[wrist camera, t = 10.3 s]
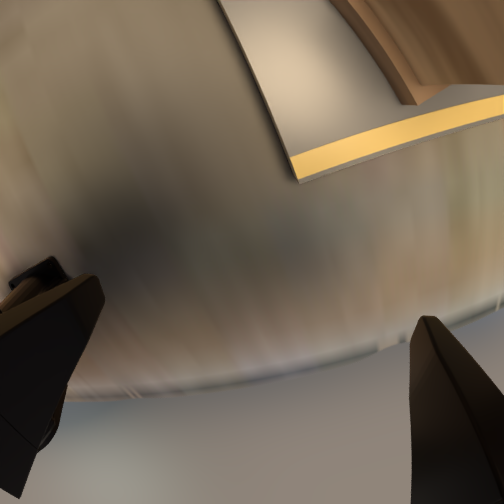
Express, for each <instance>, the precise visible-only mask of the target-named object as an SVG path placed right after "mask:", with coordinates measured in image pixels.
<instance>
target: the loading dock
mask: <svg viewBox="0 0 504 504" xmlns="http://www.w3.org/2000/svg"><path fill="white" fill-rule="evenodd" d="M217 1H218V3H219V5H220V7H221V9H222V11H223V13H224V15H225V17H226V19H227V21H228V23H229V25H230V27H231V29H232V31H233V33H234V36H235V38H236V40H237V42H238V44H239V46H240V48H241V51H242V53H243V55H244V57H245V59H246V61H247V64H248V66H249V68H250V70H251V73H252V75H253V77H254V79H255V82H256V84H257V86H258V89H259V91H260V93H261V95H262V98H263V100H264V102H265V105H266V107H267V110H268V112H269V114H270V117H271V119H272V122H273V124H274V126H275V129H276V131H277V134H278V136H279V139H280V141H281V144H282V146H283V149H284V151H285V154H286V157H287V159H288V162H289V164H290V167H291V169H292V172H293V175H294V176H295V178H296V179H297V181H298V183H299V184H302V183H305V182H308V181H310V180H313V179H316V178H319V177H321V176H324V175H327V174H330V173H333V172H335V171H338V170H341V169H344V168H347V167H350V166H353V165H355V164H358V163H361V162H364V161H367V160H370V159H373V158H376V157H379V156H382V155H385V154H388V153H391V152H394V151H397V150H400V149H403V148H406V147H409V146H412V145H415V144H419V143H422V142H425V141H428V140H431V139H435V138H438V137H441V136H444V135H448V134H451V133H454V132H458V131H461V130H464V129H468V128H471V127H475V126H478V125H482V124H485V123H489V122H492V121H496V120H499V119H503V118H504V85H480V84H452V85H450V86H448V87H447V88H445V89H443V90H442V91H440V92H439V93H437V94H435V95H434V96H432V97H431V98H429V99H428V100H426V101H424V102H423V103H421V104H420V105H418V106H416V105H402V104H401V102H400V101H399V99H398V97H397V96H396V94H395V92H394V91H393V89H392V87H391V86H390V84H389V82H388V81H387V79H386V77H385V76H384V74H383V73H382V71H381V70H380V68H379V67H378V65H377V64H376V62H375V61H374V59H373V58H372V56H371V55H370V53H369V52H368V50H367V49H366V47H365V46H364V45H363V43H362V42H361V40H360V39H359V38H358V36H357V35H356V34H355V32H354V31H353V30H352V28H351V27H350V26H349V24H348V23H347V22H346V20H345V19H344V18H343V17H342V15H341V14H340V13H339V12H338V10H337V9H336V8H335V7H334V6H333V4H332V3H331V2H330V1H329V0H217Z"/></svg>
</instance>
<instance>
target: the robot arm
mask: <svg viewBox="0 0 504 504" xmlns="http://www.w3.org/2000/svg"><path fill="white" fill-rule="evenodd" d="M49 262H50V263H51V264H52V265H50V263H49ZM9 286H10V288H11V290H12V292H11V293H10V294H9V295H8V296H7V297H6V298H5V299H4V300H3V301H2V302H1V303H0V488H1V489H3V490H4V491H6V492H8V493H9V494H11V495H13V496H14V497H16V498H18V499H20V497H21V495H22V492H23V489H24V486H25V484H26V481H27V478H28V475H29V472H30V470H31V467H32V464H33V462H34V459H35V457H36V454H37V453H38V452H39V451H40V450H42V449H43V448H44V447H46V446H47V445H48V444H49V442H50V441H51V440H52V438H53V437H54V435H55V433H56V431H57V429H58V426H59V422H60V417H61V413H62V408H63V403H64V399H65V395H66V390H67V386H68V385H67V383H68V381H69V379H70V377H71V375H72V373H73V371H74V369H75V367H76V365H77V363H78V361H79V359H80V357H81V355H82V353H83V352H84V350H85V348H86V345H87V343H88V341H89V339H90V337H91V334H92V332H93V329H94V327H95V325H96V322H97V320H98V318H99V315H100V313H101V311H102V308H103V306H104V304H105V295H104V293H103V290H102V287H101V284H100V281H99V279H98V277H97V276H96V275H92V274H83V275H81V276H78V277H76V278H74V279H72V280H70V281H68V279H67V278H66V276H65V275H64V273H63V271H62V270H61V268H60V267H59V265H58V263H57V262H56V260H55V259H54V258H53V257H48V258H46V259H44V260H43V261H41V262H39V263H38V264H36V265H34V266H33V267H31V268H29V269H28V270H26V271H24V272H23V273H21V274H19V275H18V276H16V277H14V278H13V279H12V280H11V281H10V282H9ZM409 385H410V387H409V403H410V404H409V405H410V421H411V448H412V449H411V450H412V480H411V504H504V395H503V394H502V393H501V391H500V390H499V389H498V388H497V386H496V385H495V384H494V383H493V381H492V380H491V379H490V378H489V376H488V375H487V374H486V373H485V372H484V370H483V369H482V368H481V367H480V365H479V364H478V363H477V362H476V361H475V360H474V359H473V357H472V356H471V355H470V354H469V353H468V351H467V350H466V349H465V348H464V347H463V346H462V344H461V343H460V342H459V341H458V340H457V339H456V338H455V337H454V335H452V333H451V332H450V331H449V330H448V329H447V328H446V327H445V325H444V324H443V323H442V322H441V321H440V320H439V319H438V318H437V317H435V316H425V315H423V316H421V317H420V318H419V320H418V323H417V325H416V328H415V330H414V333H413V335H412V337H411V341H410V384H409Z"/></svg>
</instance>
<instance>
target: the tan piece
mask: <svg viewBox="0 0 504 504" xmlns="http://www.w3.org/2000/svg"><path fill="white" fill-rule="evenodd" d="M329 1H330V2H331V3H332V4H333V6H334V7H335V8H336V9H337V10H338V12H339V13H340V14H341V15H342V17H343V18H344V19H345V20H346V22H347V23H348V24H349V26H350V27H351V28H352V30H353V31H354V32H355V34H356V35H357V36H358V38H359V39H360V40H361V42H362V43H363V45H364V46H365V47H366V49H367V50H368V52H369V53H370V55H371V56H372V58H373V59H374V61H375V62H376V64H377V65H378V67H379V68H380V70H381V71H382V73H383V74H384V76H385V77H386V79H387V81H388V82H389V84H390V86H391V87H392V89H393V91H394V92H395V94H396V96H397V97H398V99H399V101H400V102H401V104H402V105H416V106H418V105H420V104H421V103H423V102H424V101H426V100H428V99H429V98H431V97H432V96H434V95H435V94H437V93H439V92H440V91H442V90H443V89H445V88H447V87H448V86H450V85H452V84H480V85H504V0H329Z"/></svg>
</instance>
